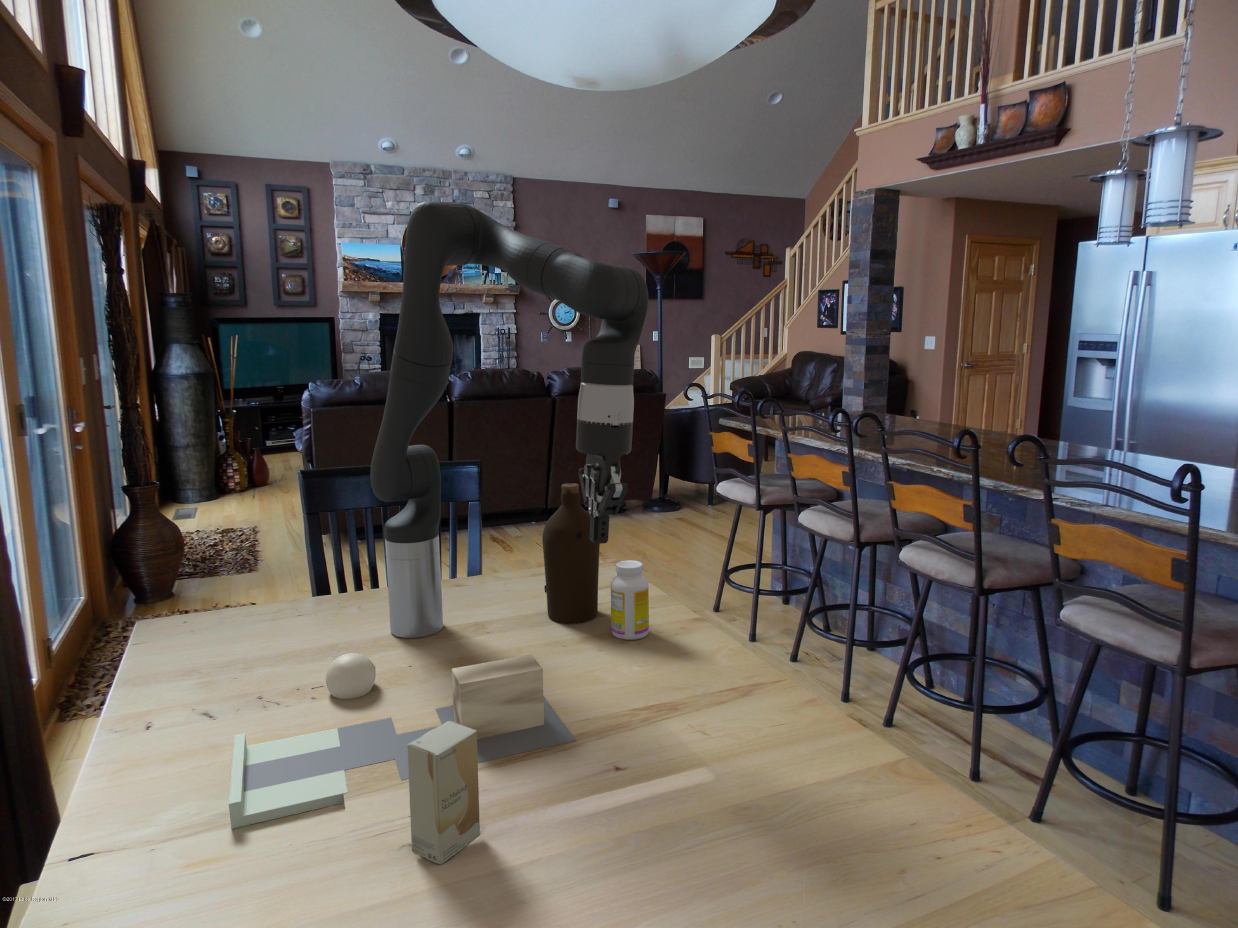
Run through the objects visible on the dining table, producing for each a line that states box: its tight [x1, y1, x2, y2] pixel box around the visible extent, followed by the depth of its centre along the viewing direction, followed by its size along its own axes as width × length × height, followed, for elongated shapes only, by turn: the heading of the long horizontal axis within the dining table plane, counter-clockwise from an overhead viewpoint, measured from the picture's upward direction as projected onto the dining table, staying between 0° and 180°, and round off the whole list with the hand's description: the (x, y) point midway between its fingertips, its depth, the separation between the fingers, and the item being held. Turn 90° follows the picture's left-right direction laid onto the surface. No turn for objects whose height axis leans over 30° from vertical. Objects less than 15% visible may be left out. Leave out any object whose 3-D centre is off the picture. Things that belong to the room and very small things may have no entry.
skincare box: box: [408, 721, 481, 865], centre depth 83 cm, size 6×4×12 cm
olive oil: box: [541, 482, 601, 624], centre depth 147 cm, size 11×11×25 cm
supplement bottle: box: [610, 559, 650, 641], centre depth 139 cm, size 7×7×13 cm
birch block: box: [451, 654, 544, 739], centre depth 106 cm, size 5×11×8 cm, turn 113°
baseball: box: [325, 652, 377, 700], centre depth 116 cm, size 7×7×7 cm
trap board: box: [228, 695, 577, 830], centre depth 101 cm, size 16×40×3 cm, turn 113°
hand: (598, 542), depth 109 cm, fingers closed
